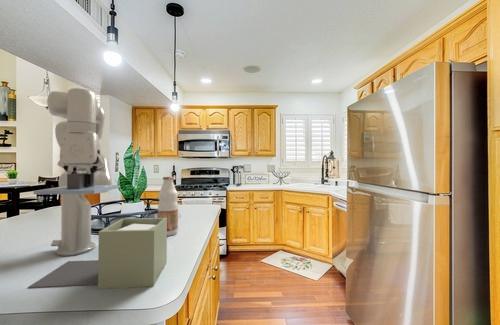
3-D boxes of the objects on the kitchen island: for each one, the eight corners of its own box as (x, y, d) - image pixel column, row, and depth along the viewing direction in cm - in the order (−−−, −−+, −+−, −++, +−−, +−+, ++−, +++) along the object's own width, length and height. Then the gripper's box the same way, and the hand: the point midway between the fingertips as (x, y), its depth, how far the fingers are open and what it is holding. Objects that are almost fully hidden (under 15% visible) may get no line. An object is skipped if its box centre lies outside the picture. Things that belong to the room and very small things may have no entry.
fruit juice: (156, 237, 110) (156, 177, 110) (159, 231, 119) (159, 176, 119) (177, 235, 112) (177, 177, 112) (178, 230, 121) (179, 176, 121)
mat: (28, 288, 65) (27, 287, 65) (68, 262, 82) (68, 261, 82) (96, 285, 67) (96, 284, 67) (122, 260, 84) (122, 259, 84)
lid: (33, 194, 66) (33, 174, 66) (70, 188, 82) (70, 172, 82) (94, 193, 67) (94, 174, 67) (119, 187, 83) (119, 172, 83)
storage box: (98, 288, 66) (98, 231, 66) (121, 264, 81) (121, 218, 80) (153, 285, 67) (154, 230, 67) (166, 263, 82) (166, 217, 82)
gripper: (44, 126, 70) (44, 188, 70) (103, 127, 72) (103, 187, 72) (61, 130, 77) (61, 185, 77) (114, 131, 79) (114, 185, 79)
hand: (81, 186), depth 75 cm, fingers closed on lid, 3 cm apart
